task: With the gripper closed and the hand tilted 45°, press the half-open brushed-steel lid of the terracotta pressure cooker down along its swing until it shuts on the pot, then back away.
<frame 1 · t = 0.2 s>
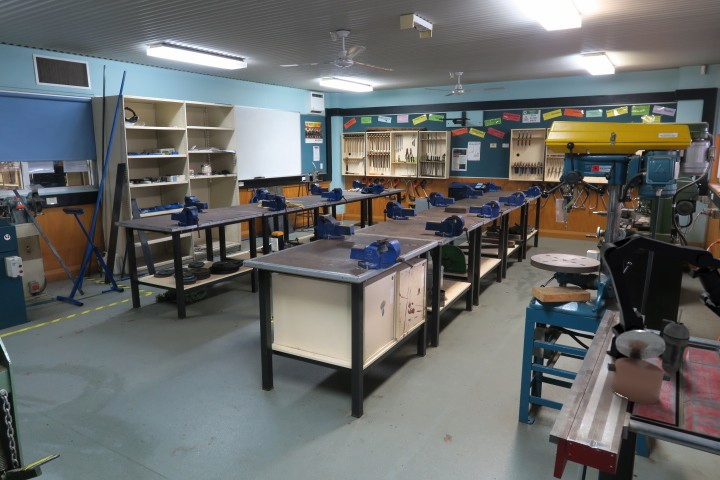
cooker lid: (639, 343, 138), point 14 cm above the table, hinge at 58.0°
beverage cup: (669, 368, 154), on the table
phone stand: (667, 354, 165), on the table
cooker pot: (634, 392, 137), on the table
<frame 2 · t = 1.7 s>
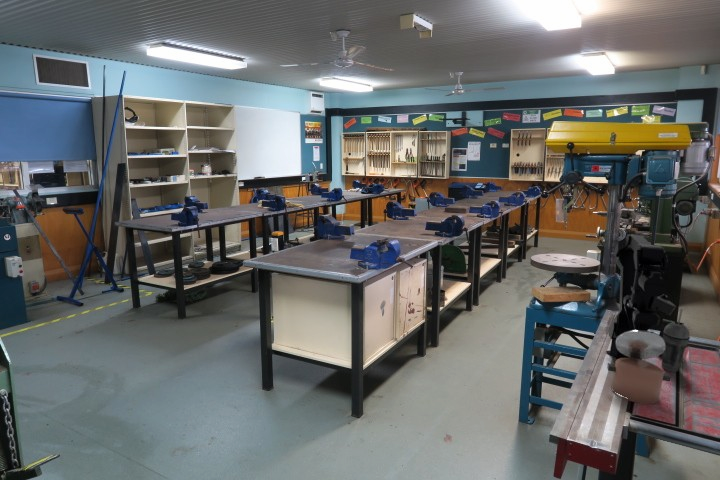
hand: (636, 335, 146), 13 cm above the table, tool pointing down, fingers open, 9 cm apart
nothing on the table moved.
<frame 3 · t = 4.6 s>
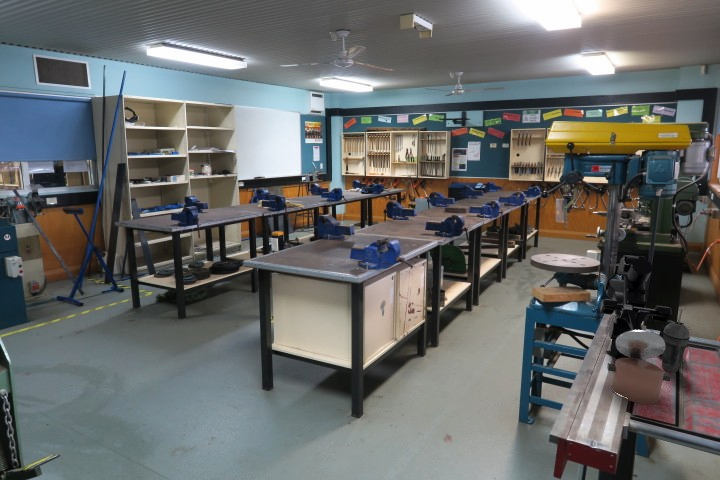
hand: (635, 335, 144), 14 cm above the table, tool tilted 45°, fingers closed
nothing on the table moved.
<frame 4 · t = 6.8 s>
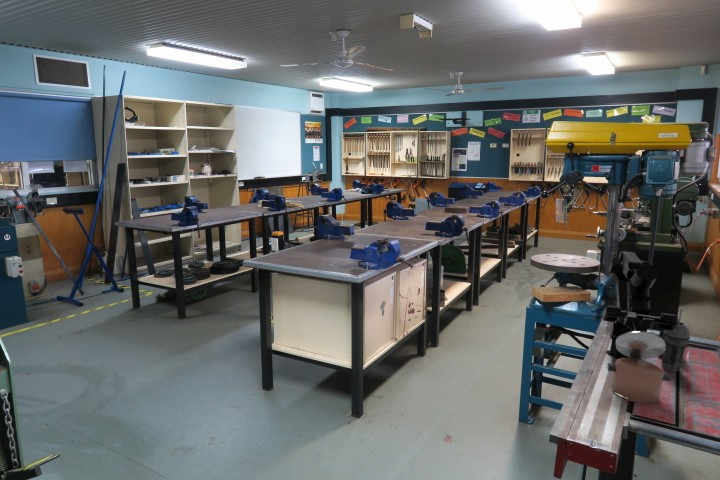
hand: (639, 344, 138), 14 cm above the table, tool tilted 45°, fingers closed, pressing on cooker lid
cooker lid: (640, 343, 138), point 14 cm above the table, hinge at 56.1°, touching gripper
everything else where it was.
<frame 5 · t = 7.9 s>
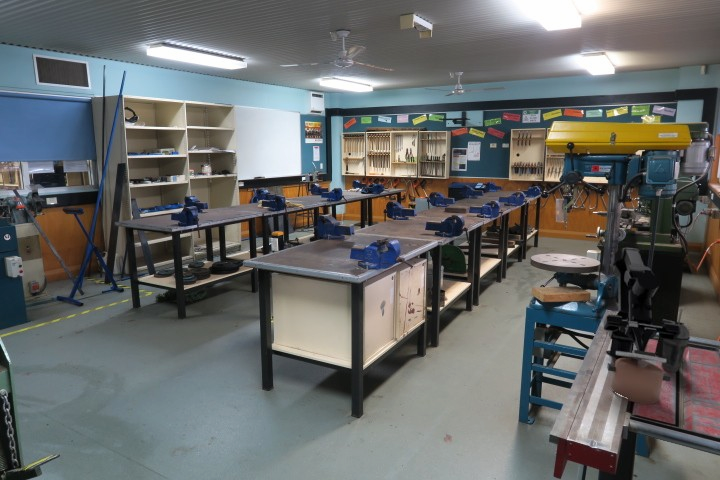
hand: (641, 354, 135), 12 cm above the table, tool tilted 45°, fingers closed, pressing on cooker lid
cooker lid: (640, 355, 136), point 11 cm above the table, hinge at 23.4°, touching gripper
everything else where it was.
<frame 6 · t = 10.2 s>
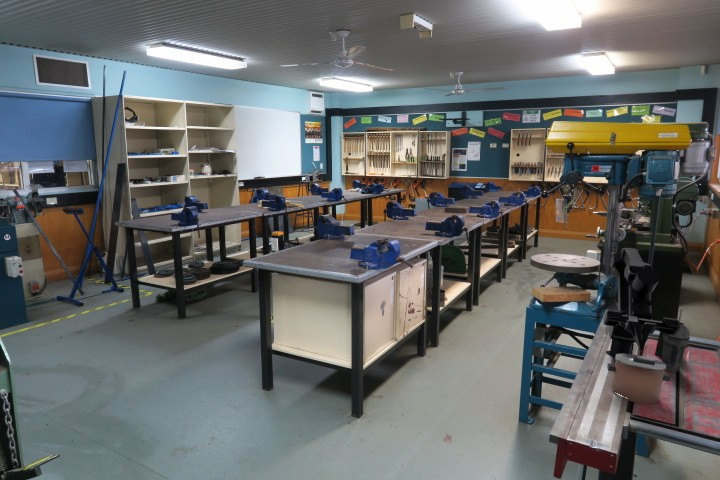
hand: (641, 349, 136), 13 cm above the table, tool tilted 45°, fingers closed
cooker lid: (640, 359, 135), point 10 cm above the table, hinge at 11.5°
everything else where it was.
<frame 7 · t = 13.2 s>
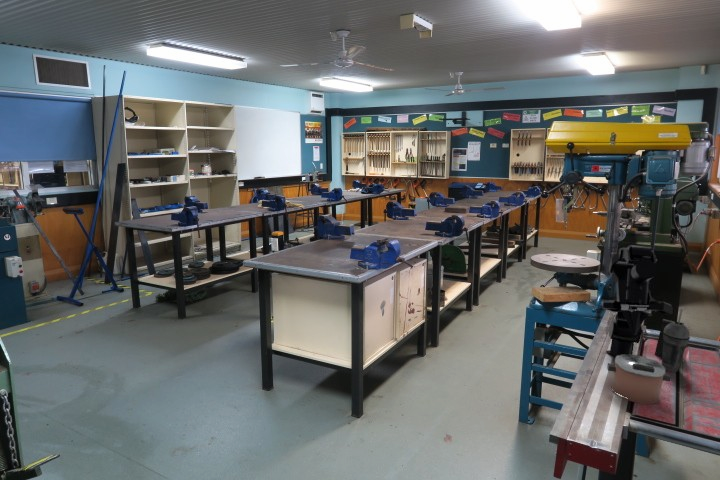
hand: (634, 334, 146), 13 cm above the table, tool tilted 25°, fingers closed
cooker lid: (639, 363, 135), point 9 cm above the table, hinge at 1.1°
everything else where it was.
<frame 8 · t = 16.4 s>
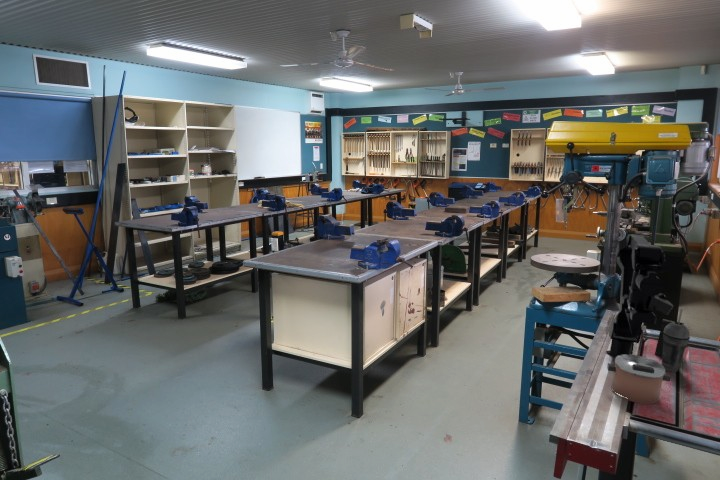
hand: (633, 334, 146), 13 cm above the table, tool pointing down, fingers closed
cooker lid: (639, 364, 135), point 9 cm above the table, hinge at -0.1°
everything else where it was.
at the end: cooker lid at +0° (first picture: +58°); beverage cup moved 0.2 cm from its start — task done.
